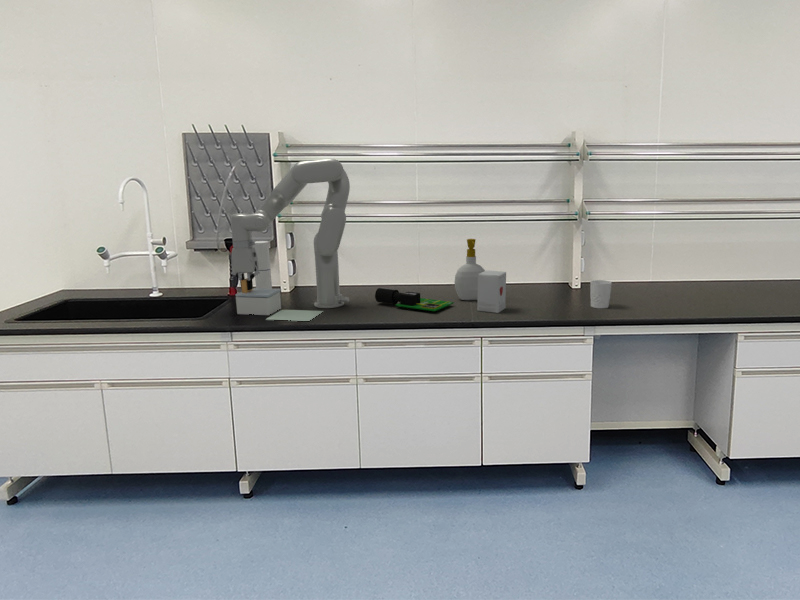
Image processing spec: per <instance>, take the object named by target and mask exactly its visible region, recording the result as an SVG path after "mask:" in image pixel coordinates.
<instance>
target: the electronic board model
mask: <svg viewBox="0 0 800 600" xmlns="http://www.w3.org/2000/svg"><path fill="white" fill-rule="evenodd" d="M374 298H375V301H376V303H383V304H391V305H395V307H400V309H401V308H403V310H408V309H409V310H408V311H414V310H416V309H417V310H423V311H430V312H436V311H439V310H441V309H444V308H446V307H448V306H451V305H453V304H454V303H455V302H454V301H449V300H448V301H446V300H439V299H438V300H437V299H430V298H424V297H423V298H422V297H421V293H420V292H413V291H405V292H399V290H398V289H395V288H385V287H378V288H377V289H376V290H375V294H374ZM398 302H399V303H398Z"/></svg>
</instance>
